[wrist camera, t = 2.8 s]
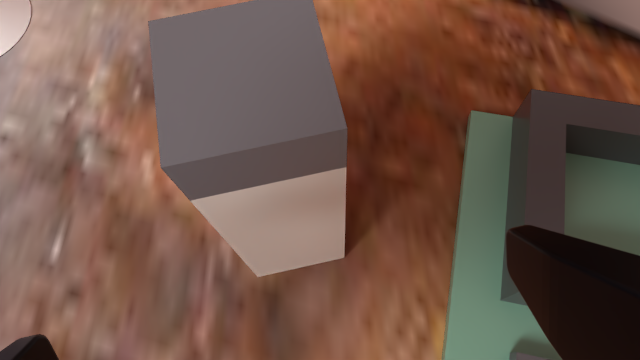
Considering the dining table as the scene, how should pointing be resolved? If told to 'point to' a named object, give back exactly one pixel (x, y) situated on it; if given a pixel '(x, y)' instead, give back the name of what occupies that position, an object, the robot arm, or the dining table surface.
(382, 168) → the dining table surface
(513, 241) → the robot arm
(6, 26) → the champagne flute
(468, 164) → the circuit board
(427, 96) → the dining table surface
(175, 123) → the two-tone square block
